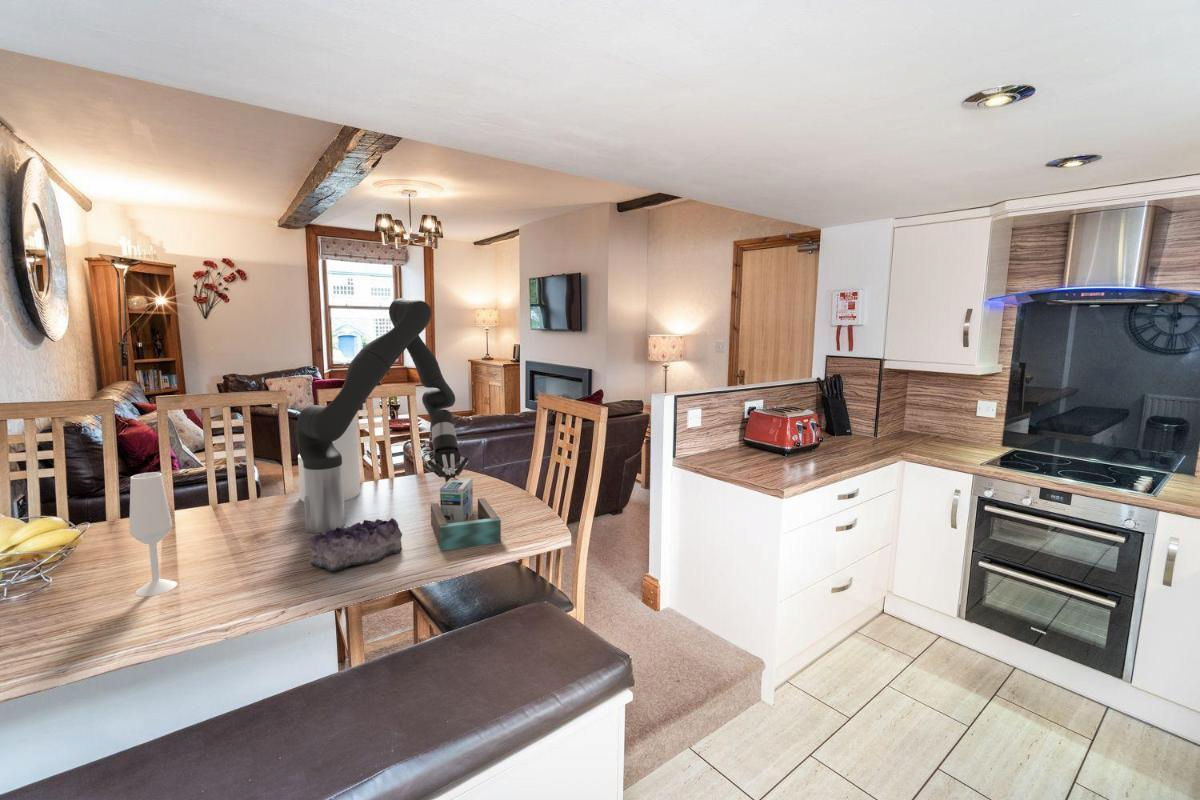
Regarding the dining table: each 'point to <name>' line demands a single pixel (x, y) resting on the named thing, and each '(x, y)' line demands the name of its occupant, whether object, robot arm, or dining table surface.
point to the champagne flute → (150, 524)
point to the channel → (466, 528)
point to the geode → (355, 544)
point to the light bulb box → (457, 500)
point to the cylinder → (343, 462)
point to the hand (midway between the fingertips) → (451, 487)
